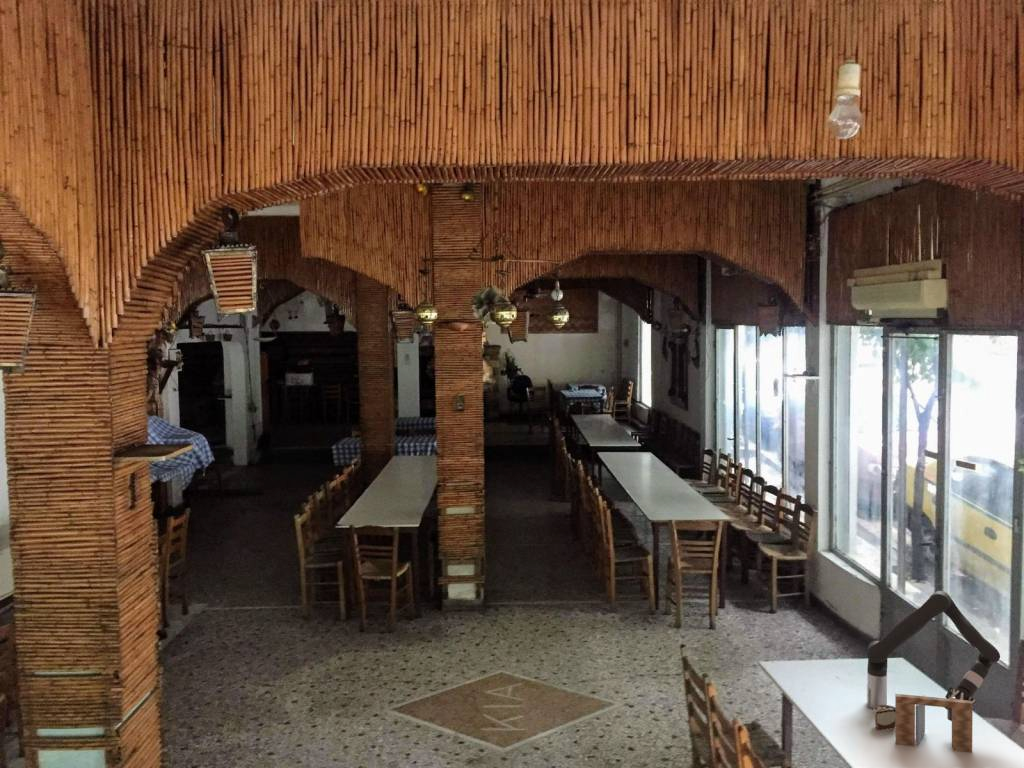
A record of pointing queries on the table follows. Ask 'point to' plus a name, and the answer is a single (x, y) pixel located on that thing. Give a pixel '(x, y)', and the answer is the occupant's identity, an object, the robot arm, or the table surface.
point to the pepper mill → (950, 711)
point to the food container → (884, 717)
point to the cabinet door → (920, 722)
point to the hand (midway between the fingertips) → (951, 711)
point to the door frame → (960, 708)
